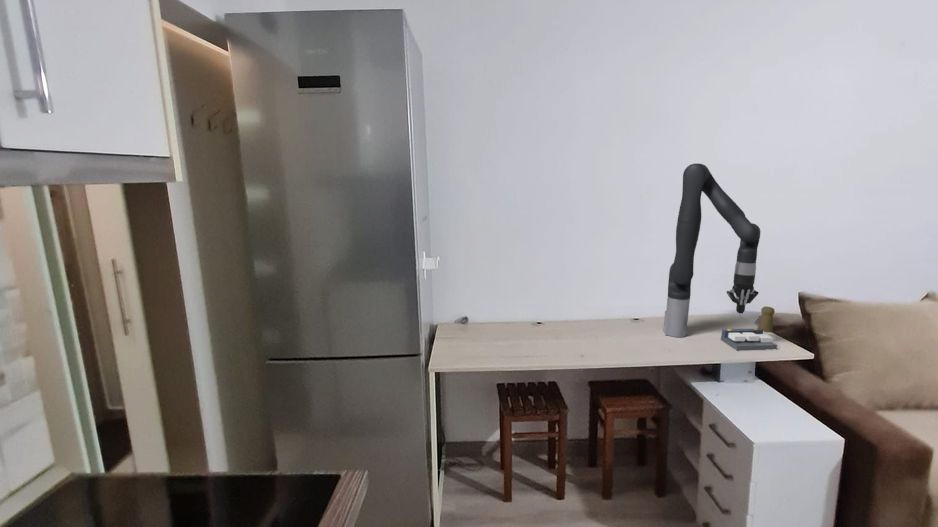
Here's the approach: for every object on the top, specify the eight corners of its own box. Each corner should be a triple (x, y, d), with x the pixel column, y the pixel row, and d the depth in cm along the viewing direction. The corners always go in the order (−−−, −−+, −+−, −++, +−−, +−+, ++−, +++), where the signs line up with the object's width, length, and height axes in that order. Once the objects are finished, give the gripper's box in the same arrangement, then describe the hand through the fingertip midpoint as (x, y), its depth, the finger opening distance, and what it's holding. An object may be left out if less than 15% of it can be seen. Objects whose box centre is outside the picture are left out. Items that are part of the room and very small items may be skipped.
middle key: (748, 340, 208) (748, 336, 208) (741, 336, 213) (742, 332, 212) (758, 340, 209) (759, 336, 208) (752, 336, 213) (752, 332, 213)
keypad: (736, 350, 206) (738, 338, 205) (720, 339, 218) (722, 328, 217) (776, 349, 207) (778, 337, 206) (758, 339, 219) (759, 327, 218)
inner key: (734, 341, 208) (735, 336, 208) (728, 337, 212) (728, 332, 212) (745, 341, 208) (745, 336, 208) (738, 337, 213) (739, 332, 212)
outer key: (761, 342, 209) (762, 338, 209) (754, 338, 213) (755, 334, 213) (772, 342, 209) (772, 337, 209) (765, 338, 214) (765, 333, 213)
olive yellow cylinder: (774, 332, 227) (778, 309, 224) (760, 331, 228) (763, 308, 225) (769, 328, 232) (773, 305, 230) (755, 327, 234) (758, 304, 231)
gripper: (734, 275, 200) (730, 316, 204) (766, 274, 201) (761, 315, 205) (724, 270, 207) (719, 310, 211) (754, 270, 208) (749, 309, 212)
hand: (740, 312), depth 208 cm, fingers closed
